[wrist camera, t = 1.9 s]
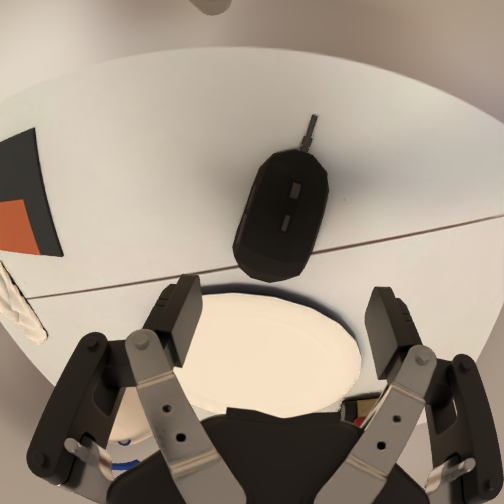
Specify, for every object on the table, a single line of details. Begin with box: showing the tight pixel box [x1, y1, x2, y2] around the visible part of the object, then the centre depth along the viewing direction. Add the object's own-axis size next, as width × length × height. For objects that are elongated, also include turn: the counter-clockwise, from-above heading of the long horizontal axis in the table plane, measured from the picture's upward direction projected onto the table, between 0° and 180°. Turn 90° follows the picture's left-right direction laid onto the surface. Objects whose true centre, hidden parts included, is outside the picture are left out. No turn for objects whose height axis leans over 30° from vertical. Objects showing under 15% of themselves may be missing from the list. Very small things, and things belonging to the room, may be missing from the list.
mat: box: [0, 128, 64, 257], centre depth 24 cm, size 16×20×1 cm
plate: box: [173, 292, 362, 418], centre depth 33 cm, size 29×29×2 cm
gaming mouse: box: [232, 115, 329, 283], centre depth 20 cm, size 6×15×4 cm, turn 165°
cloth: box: [0, 261, 47, 345], centre depth 35 cm, size 20×22×2 cm
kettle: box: [108, 387, 153, 470], centre depth 38 cm, size 20×21×18 cm
